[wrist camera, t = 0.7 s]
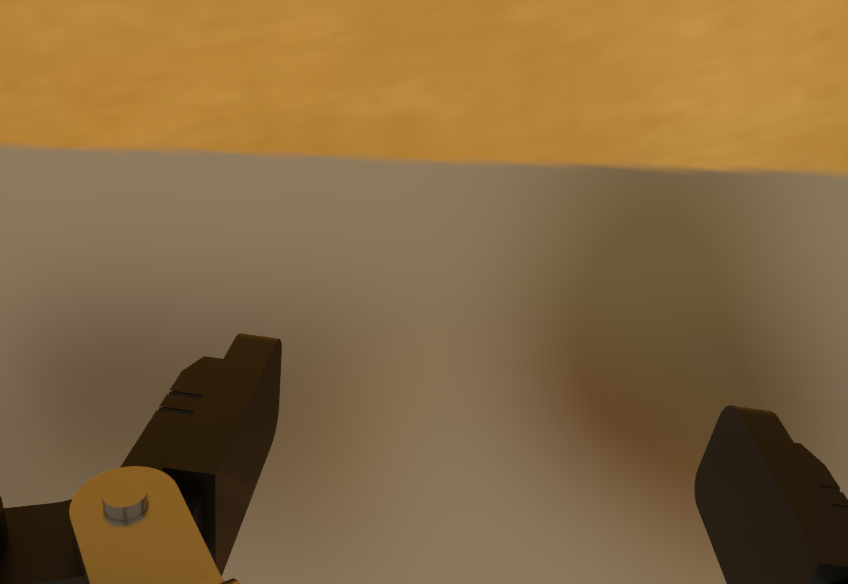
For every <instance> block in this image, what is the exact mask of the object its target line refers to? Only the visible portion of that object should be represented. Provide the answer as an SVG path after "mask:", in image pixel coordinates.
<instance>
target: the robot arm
mask: <svg viewBox="0 0 848 584" xmlns="http://www.w3.org/2000/svg"><path fill="white" fill-rule="evenodd" d="M281 355H282V344H281V340H280V339H276V338H269V337H262V336H255V335H249V334H242V333H239V334H238V335H237V336H236V338H235V339H234V341H233V343H232V345H231V346H230V348H229V350H228V352H227V354H226V356H225V357H224V359H219V358H212V357H205V356H204V357H202V358H201V359H199V360H198V361H196V362H195V363H194V364H192V365H190V366H189V367H187V368H186V369H184V370H183V371H182V372H181V373H180V375H179V376H178V378H177V380H176V381H175V383H174V384H173V386H172V387H171V389H170V392H169V394H167V395H166V397H165V398H164V400H163V401H162V403H161V404H160V407H159V410H157V411H156V412H155V414H154V416H153V417H152V419H151V420H150V422H149V423H148V425H147V426H146V428H145V430H144V431H143V433H142V434H141V436H140V437H139V439H138V441H137V442H136V444H135V445H134V447H133V448H132V450H131V452H130V453H129V454H128V456H127V458H126V459H125V461H124V462H123V464H122V465H121V467H120V468H117V469H113V470H110V471H107V472H104V473H102V474H100V475H98V476H96V477H94V478H92V479H91V480H89V481H88V482H87V483H85V484H84V485H83V486H82V487H81V488H80V489H79V490H78V491H77V492H76V494H75V496H74V497H73V499H71V500H68V501H63V502H57V503H51V504H41V505H31V506H22V507H12V508H3V503H2V499H1V497H0V584H240V583H239V582H238V581H237V580H236V579H230V580H228V581H224V580H223V578H222V574H223V572H224V569H225V566H226V564H227V561H228V558H229V555H230V553H231V551H232V548H233V545H234V542H235V540H236V537H237V535H238V532H239V529H240V527H241V524H242V522H243V519H244V516H245V514H246V511H247V508H248V506H249V503H250V500H251V498H252V495H253V493H254V490H255V487H256V485H257V482H258V479H259V477H260V474H261V471H262V469H263V466H264V464H265V461H266V458H267V456H268V453H269V450H270V448H271V445H272V442H273V439H274V435H275V431H276V426H277V421H278V413H279V397H280V376H281ZM839 490H840V487H839V486H838V484H837V483H836V481H835V480H834V478H833V477H832V475H831V474H830V472H829V470H828V469H827V467H826V466H825V465H824V464H823V463H822V462H821V461H820V460H819V459H817V458H816V457H815V456H814V455H813V454H812V453H811V452H810V451H808V450H807V449H806V448H805V447H804V446H803V445H802V444H799V443H794V442H793V441H792V439H791V438H790V436H789V434H788V433H787V431H786V429H785V428H784V426H783V425H782V423H781V421H780V420H779V418H778V417H777V415H776V414H775V413H774V412H772V411H766V410H759V409H752V408H745V407H738V406H731V405H729V406H727V407H725V408H724V409H723V411H722V412H721V414H720V416H719V418H718V421H717V423H716V426H715V428H714V431H713V433H712V435H711V438H710V441H709V443H708V445H707V448H706V450H705V453H704V455H703V458H702V460H701V463H700V465H699V468H698V470H697V473H696V478H695V500H696V504H697V508H698V510H699V513H700V515H701V518H702V521H703V523H704V526H705V528H706V531H707V534H708V536H709V539H710V541H711V544H712V546H713V549H714V552H715V554H716V557H717V559H718V562H719V565H720V567H721V570H722V572H723V575H724V577H725V580H726V583H727V584H848V500H847V498H846V497H845V495H844V494H843V493H842V492H840V491H839Z"/></svg>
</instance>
